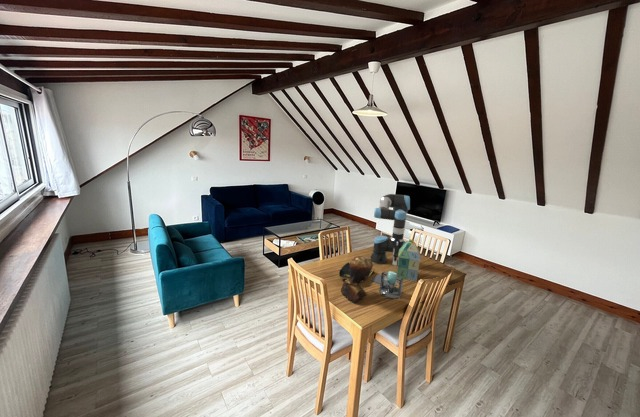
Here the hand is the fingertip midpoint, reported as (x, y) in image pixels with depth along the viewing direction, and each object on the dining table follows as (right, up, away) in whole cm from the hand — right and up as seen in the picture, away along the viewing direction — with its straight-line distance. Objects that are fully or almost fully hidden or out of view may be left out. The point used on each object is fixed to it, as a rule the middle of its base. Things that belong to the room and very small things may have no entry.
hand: (394, 260), depth 197 cm
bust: (-28, -24, +3) cm, 37 cm away
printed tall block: (+19, -19, +34) cm, 44 cm away
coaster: (-4, -20, +24) cm, 31 cm away
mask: (-25, -18, +29) cm, 42 cm away
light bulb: (-1, -16, +4) cm, 17 cm away
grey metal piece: (-1, -25, +7) cm, 26 cm away
